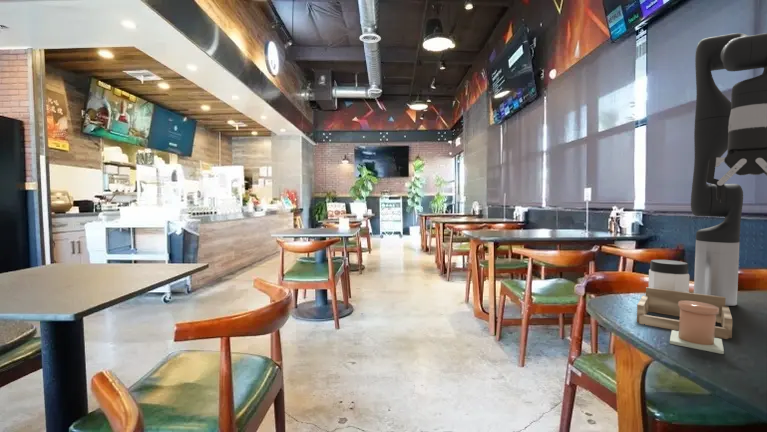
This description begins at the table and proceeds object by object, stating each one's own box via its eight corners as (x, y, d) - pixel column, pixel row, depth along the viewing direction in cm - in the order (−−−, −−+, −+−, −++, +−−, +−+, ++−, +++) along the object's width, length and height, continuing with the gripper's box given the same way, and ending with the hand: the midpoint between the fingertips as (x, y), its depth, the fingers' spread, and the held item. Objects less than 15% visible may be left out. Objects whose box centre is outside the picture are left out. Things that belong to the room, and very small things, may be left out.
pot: (677, 331, 80) (680, 298, 80) (716, 339, 76) (719, 305, 75) (674, 339, 75) (676, 304, 75) (715, 348, 71) (718, 311, 71)
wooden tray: (642, 309, 99) (643, 286, 98) (727, 322, 88) (728, 297, 88) (636, 323, 88) (636, 297, 87) (732, 340, 77) (733, 311, 77)
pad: (671, 332, 81) (671, 330, 81) (721, 341, 76) (721, 338, 76) (669, 343, 75) (669, 340, 75) (723, 354, 70) (723, 351, 70)
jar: (692, 306, 102) (693, 262, 101) (683, 312, 96) (685, 265, 96) (652, 300, 108) (654, 258, 108) (643, 304, 103) (644, 261, 103)
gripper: (796, 127, 81) (792, 203, 81) (708, 134, 90) (705, 202, 90) (803, 121, 75) (799, 203, 76) (709, 129, 84) (706, 202, 85)
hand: (748, 202), depth 83 cm, fingers open, 8 cm apart
